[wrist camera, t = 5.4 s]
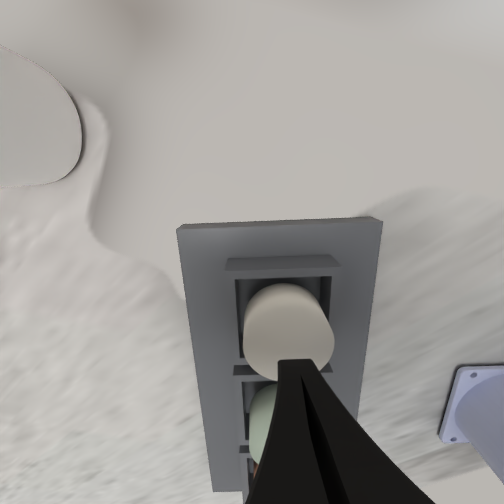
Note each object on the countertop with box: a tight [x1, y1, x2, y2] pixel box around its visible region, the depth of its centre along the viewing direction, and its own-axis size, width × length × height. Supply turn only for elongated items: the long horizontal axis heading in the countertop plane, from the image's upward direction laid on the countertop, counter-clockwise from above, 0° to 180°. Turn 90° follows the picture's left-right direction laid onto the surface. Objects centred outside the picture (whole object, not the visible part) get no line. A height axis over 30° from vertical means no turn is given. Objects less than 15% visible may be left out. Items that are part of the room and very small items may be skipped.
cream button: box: [243, 283, 334, 381], centre depth 13 cm, size 4×4×2 cm
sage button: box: [249, 383, 278, 464], centre depth 15 cm, size 4×4×2 cm
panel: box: [176, 217, 383, 504], centre depth 18 cm, size 12×24×4 cm, turn 2°
